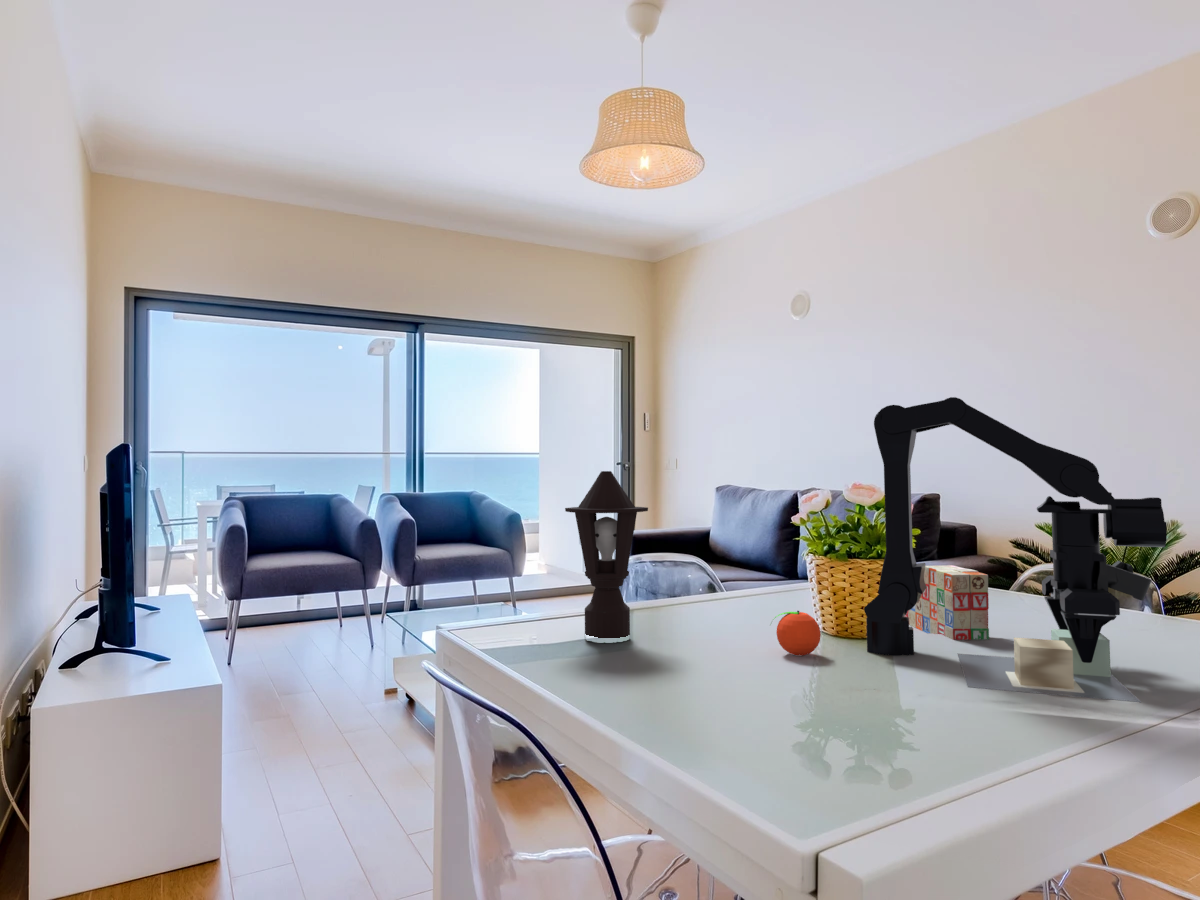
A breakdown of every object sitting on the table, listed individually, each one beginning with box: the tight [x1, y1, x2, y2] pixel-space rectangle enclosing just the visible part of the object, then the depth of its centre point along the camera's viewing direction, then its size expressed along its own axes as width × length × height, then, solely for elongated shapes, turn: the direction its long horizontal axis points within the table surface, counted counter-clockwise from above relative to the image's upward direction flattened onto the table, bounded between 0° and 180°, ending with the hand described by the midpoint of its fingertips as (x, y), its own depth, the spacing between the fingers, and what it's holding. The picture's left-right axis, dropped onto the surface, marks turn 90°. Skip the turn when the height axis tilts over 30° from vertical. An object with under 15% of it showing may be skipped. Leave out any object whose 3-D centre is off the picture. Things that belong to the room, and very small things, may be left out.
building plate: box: [957, 653, 1142, 703], centre depth 104 cm, size 19×20×1 cm
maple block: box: [1013, 637, 1074, 689], centre depth 100 cm, size 6×6×5 cm
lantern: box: [564, 470, 649, 638], centre depth 135 cm, size 15×15×30 cm
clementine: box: [769, 610, 822, 657], centre depth 121 cm, size 8×7×7 cm
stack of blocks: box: [904, 564, 990, 641], centre depth 138 cm, size 21×6×12 cm, turn 0°
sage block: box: [1050, 628, 1112, 677], centre depth 107 cm, size 6×6×5 cm
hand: (1079, 655), depth 107 cm, fingers open, 9 cm apart
